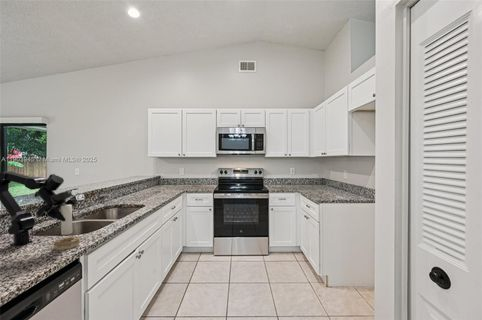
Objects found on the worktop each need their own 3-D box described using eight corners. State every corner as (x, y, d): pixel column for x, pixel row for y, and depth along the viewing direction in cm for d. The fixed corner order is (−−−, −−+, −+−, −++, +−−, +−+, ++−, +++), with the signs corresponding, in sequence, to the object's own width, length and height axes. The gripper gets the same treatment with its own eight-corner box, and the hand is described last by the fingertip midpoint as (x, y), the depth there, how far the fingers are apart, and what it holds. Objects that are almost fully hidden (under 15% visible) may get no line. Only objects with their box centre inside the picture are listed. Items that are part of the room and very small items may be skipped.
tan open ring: (49, 248, 120) (49, 242, 120) (68, 241, 130) (68, 235, 130) (65, 250, 118) (65, 244, 117) (83, 243, 127) (83, 237, 127)
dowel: (59, 234, 121) (58, 206, 120) (64, 232, 125) (63, 204, 125) (69, 234, 122) (68, 206, 121) (74, 231, 126) (73, 204, 126)
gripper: (41, 188, 114) (62, 213, 113) (74, 183, 133) (92, 204, 131) (27, 205, 116) (48, 229, 114) (61, 197, 134) (80, 218, 133)
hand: (68, 219), depth 123 cm, fingers closed on dowel, 4 cm apart
